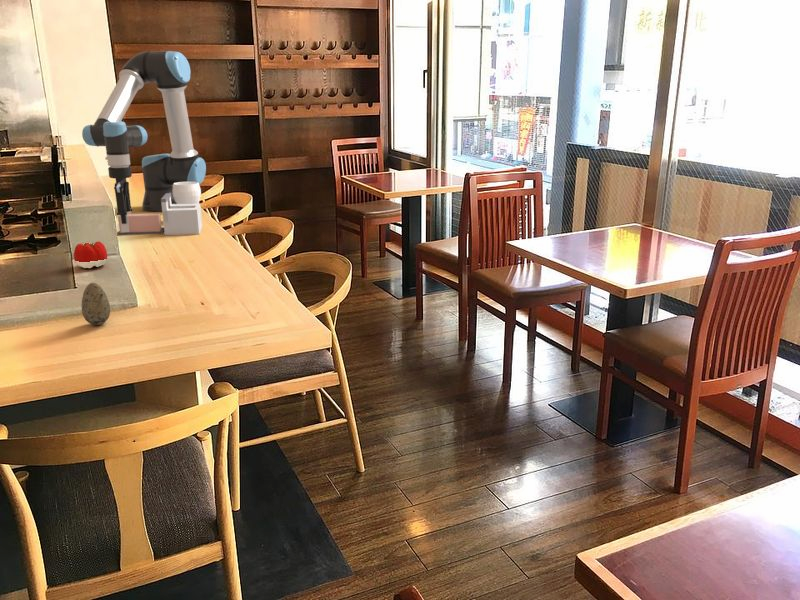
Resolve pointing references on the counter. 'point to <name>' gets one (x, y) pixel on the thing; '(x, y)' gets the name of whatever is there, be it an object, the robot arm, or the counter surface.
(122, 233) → the pad
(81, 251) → the tomato
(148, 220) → the pink rectangular block
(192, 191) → the cup
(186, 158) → the robot arm
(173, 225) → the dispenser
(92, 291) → the decorative egg
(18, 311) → the counter surface
